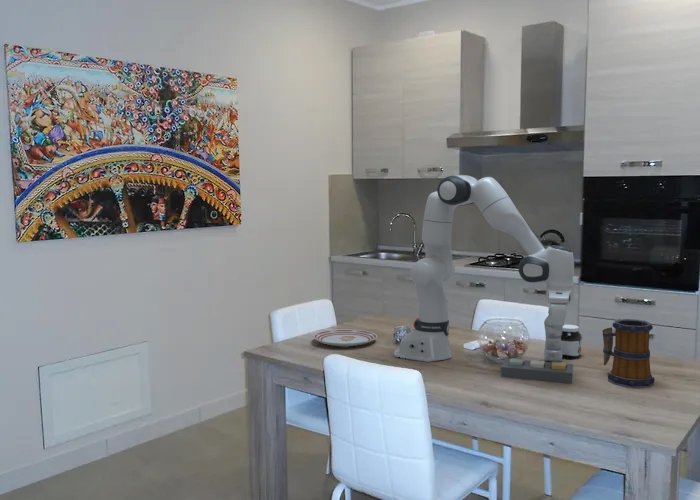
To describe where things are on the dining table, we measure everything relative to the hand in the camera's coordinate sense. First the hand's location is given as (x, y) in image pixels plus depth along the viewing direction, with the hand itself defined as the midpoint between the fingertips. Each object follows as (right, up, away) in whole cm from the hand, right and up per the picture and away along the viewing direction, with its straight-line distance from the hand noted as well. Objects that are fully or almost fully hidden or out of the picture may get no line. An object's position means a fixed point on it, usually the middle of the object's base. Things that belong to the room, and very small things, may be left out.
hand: (559, 334), depth 213 cm
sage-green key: (-13, -12, +6) cm, 19 cm away
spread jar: (+12, -12, +29) cm, 34 cm away
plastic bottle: (+5, -13, +21) cm, 25 cm away
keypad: (-6, -15, +4) cm, 17 cm away
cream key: (-6, -12, +4) cm, 14 cm away
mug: (+21, -15, -2) cm, 26 cm away
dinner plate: (-73, -11, +55) cm, 92 cm away
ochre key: (0, -12, +1) cm, 12 cm away
